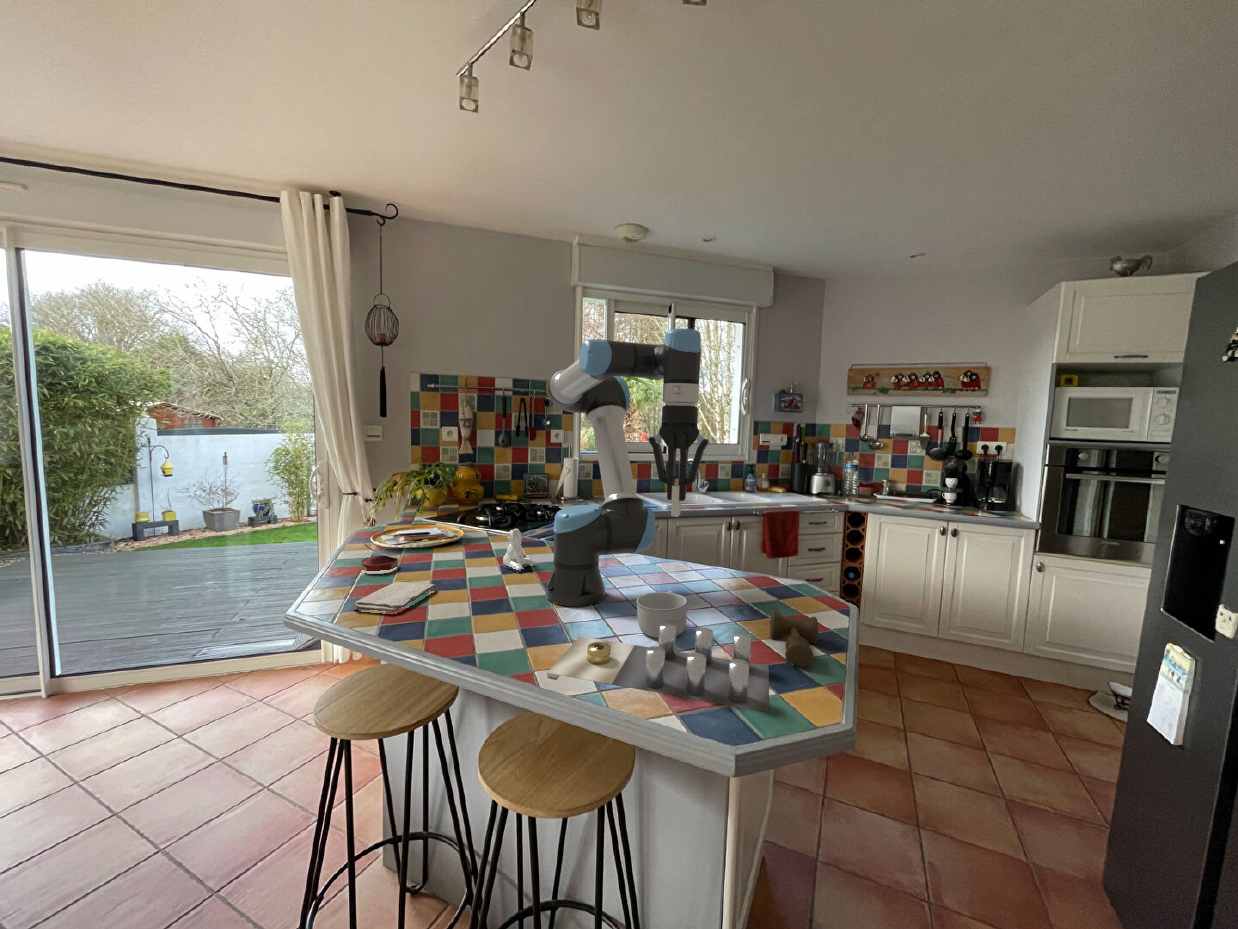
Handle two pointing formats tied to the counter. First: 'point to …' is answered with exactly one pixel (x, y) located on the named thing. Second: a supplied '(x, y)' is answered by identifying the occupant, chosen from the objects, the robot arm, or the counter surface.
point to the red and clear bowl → (379, 562)
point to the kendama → (795, 637)
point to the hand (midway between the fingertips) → (675, 515)
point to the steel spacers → (700, 662)
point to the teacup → (661, 612)
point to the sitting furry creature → (515, 551)
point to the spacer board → (631, 673)
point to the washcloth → (393, 596)
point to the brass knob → (598, 653)
